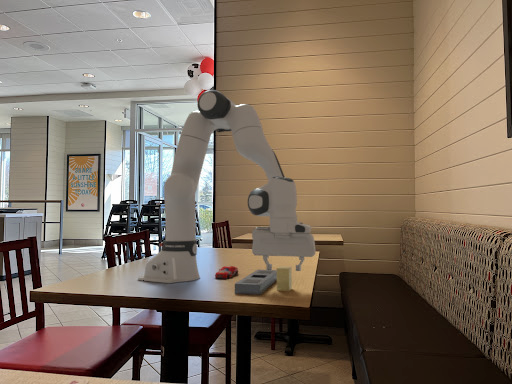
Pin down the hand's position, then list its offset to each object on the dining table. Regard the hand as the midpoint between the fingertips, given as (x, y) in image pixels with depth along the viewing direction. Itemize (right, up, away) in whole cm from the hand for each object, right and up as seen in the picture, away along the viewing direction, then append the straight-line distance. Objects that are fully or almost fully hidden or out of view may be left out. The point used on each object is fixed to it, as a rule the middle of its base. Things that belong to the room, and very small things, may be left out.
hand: (283, 270), depth 120 cm
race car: (-20, -8, +24) cm, 32 cm away
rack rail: (-8, -7, +7) cm, 12 cm away
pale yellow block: (0, -6, 0) cm, 6 cm away
